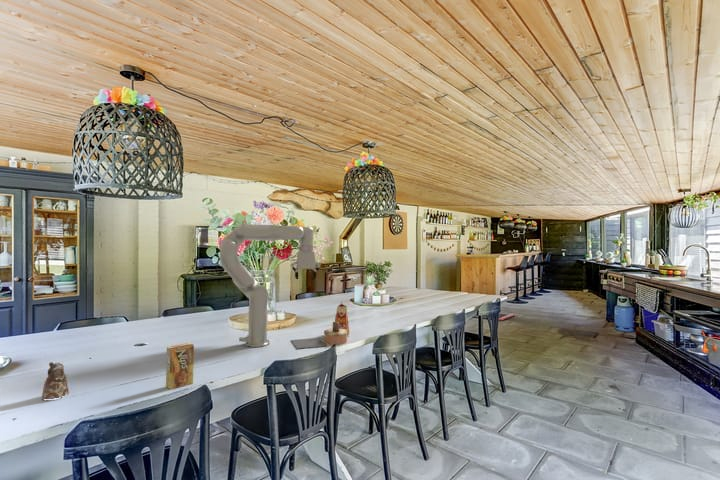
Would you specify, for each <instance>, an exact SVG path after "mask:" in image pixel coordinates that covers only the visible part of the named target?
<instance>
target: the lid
mask: <svg viewBox="0 0 720 480" xmlns="http://www.w3.org/2000/svg"><path fill="white" fill-rule="evenodd" d="M347 333H348V331H347V330H345V329H339V322H335V321H333V322H332V328H328V329H324V331H323V334H324V335H325V334H326V335H330V336H342V335H346V334H347Z"/></svg>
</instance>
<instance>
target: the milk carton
mask: <svg viewBox="0 0 720 480" xmlns="http://www.w3.org/2000/svg"><path fill="white" fill-rule="evenodd" d="M334 322H339V329H345V330H347V331H348V333H347V338H348V337H350V323H349V314H348V306H347V305H345V304H343V301H341V302H340V304H339V305H337V308H336V313H335V315H334Z"/></svg>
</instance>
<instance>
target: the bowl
mask: <svg viewBox="0 0 720 480" xmlns="http://www.w3.org/2000/svg"><path fill="white" fill-rule="evenodd" d="M323 342H324V343H325V344H326V345H330V346H334V345H333V344H336V345H335V346H340V345H345V344H347V342H348V337H347V334H346V335H342V336H330V335H326V334H324V340H323Z"/></svg>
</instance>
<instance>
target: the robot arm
mask: <svg viewBox="0 0 720 480" xmlns="http://www.w3.org/2000/svg"><path fill="white" fill-rule="evenodd" d="M283 240H284V241H286V240H289V241H292V240H293V241H294V240H295V241H298V240H299V245H298V246H296V249H297V250H298V252H297V257H296V261H294V262H292V263H290V267H291V269H292V270H293V271H294V278H295V279H296V280H299V271H300V270H312V279H313V280H315V279H316V278H317V272H318V271H319V270H320V267H321V265H322V264H321V263H319V262H317V261H316V252H315V251H314V228H313V227H309V226H307V227H306V226H299V225H277V224H254V223H253V224H248V223H247V224H240V225H238V226H237V227H236V228H234V230H232V231H231V232H230V233H229V234H228V235H227V236H225V237H224V238H223V239H222V240H221V241H220V242H219V245H218V247H219V248H218V250H219V251H220V252H219V261H220V265H221V266H222V268H223V269H224V271H225V272H226V273H227V274H228V275H229V276H230V278H232V283H233V284H234V285H235V286H236V287H237V288H238V290H239V291H241V293H243V295H244V296H246V297H247V299H248V300H249V303H248V326H247V327H248V334H247V335H246V336H245V337H243V336H241V337H239V339H238V342H242V343H243V342H244V345H245V346H246V347H249V346H250V348H260V347H265V346H268V345H270V339H268V338H267V337H268V336H267V335H268V334H267V333H268V329H267V328H268V323H267V322H268V303H269V302H268V301H269V291H268V289H267V288H266V287H265V286H264V285H262V284H260V283H258V281H257V280H256V279H255V278H254V275H253V274H252V272H251V271H250V270H248V268H246V267H245V265H244V264H243V263H242V262H241V261H240V259H239V258H238V252H239V247H240V246H242V245H243V244H244V242H246V241H283ZM295 266H296V267H295Z"/></svg>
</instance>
